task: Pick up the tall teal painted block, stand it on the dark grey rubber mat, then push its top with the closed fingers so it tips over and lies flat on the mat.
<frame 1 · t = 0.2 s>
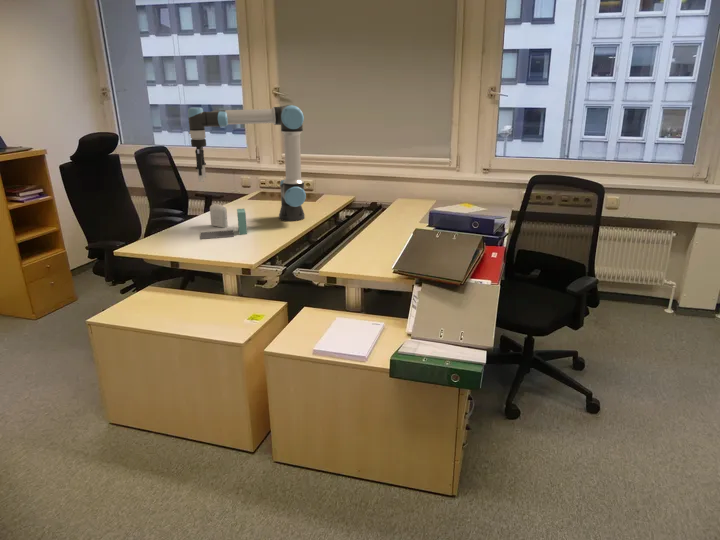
hand: (202, 179, 282), 27 cm above the table, tool pointing down, fingers open, 13 cm apart
mat: (217, 234, 280), on the table
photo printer: (219, 226, 298), on the table
block: (242, 232, 285), on the table
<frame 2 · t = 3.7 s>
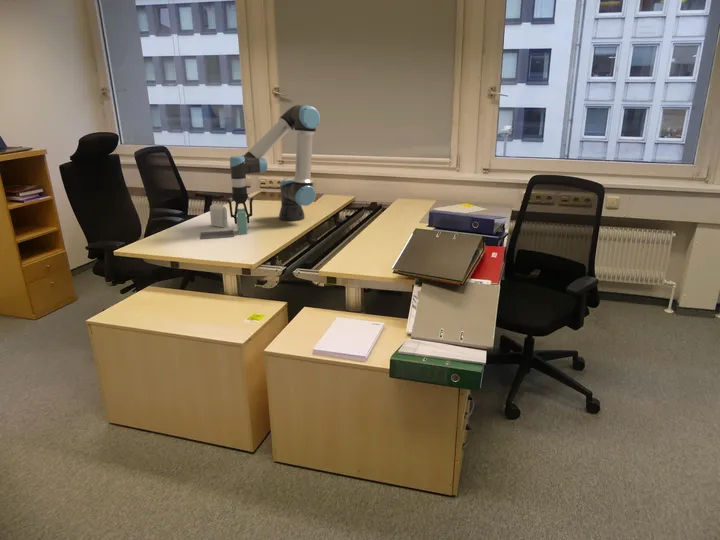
hand: (242, 229, 284), 2 cm above the table, tool pointing down, fingers closed on block, 4 cm apart
block: (242, 232, 285), on the table, touching gripper
everything else where it was.
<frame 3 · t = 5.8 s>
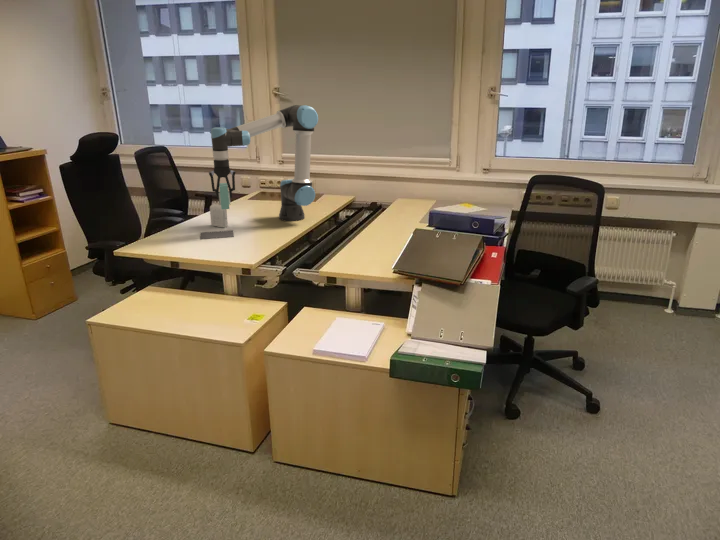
hand: (225, 204, 276), 16 cm above the table, tool pointing down, fingers closed on block, 4 cm apart
block: (225, 207, 276), point 15 cm above the table, touching gripper
everything else where it was.
when the fingers open (3 cm above the table, at t = 8.4 s): block stays where it is, resting on mat.
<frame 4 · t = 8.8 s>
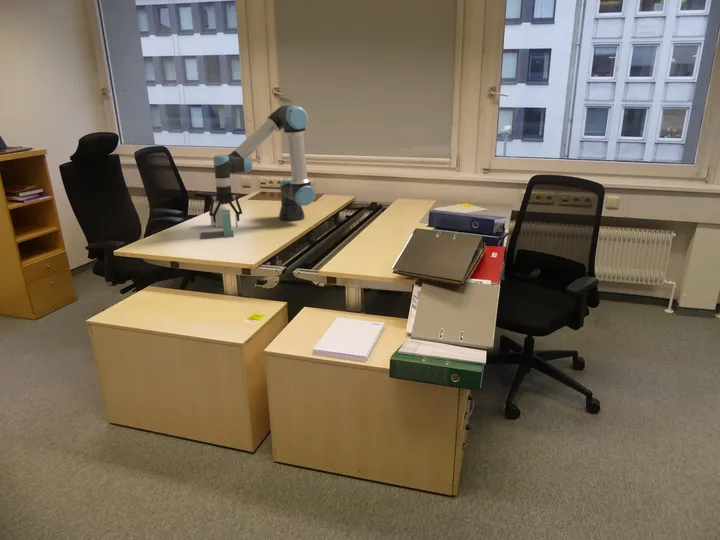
hand: (227, 227, 280), 4 cm above the table, tool pointing down, fingers open, 9 cm apart
block: (227, 233, 281), resting on mat
everything else where it was.
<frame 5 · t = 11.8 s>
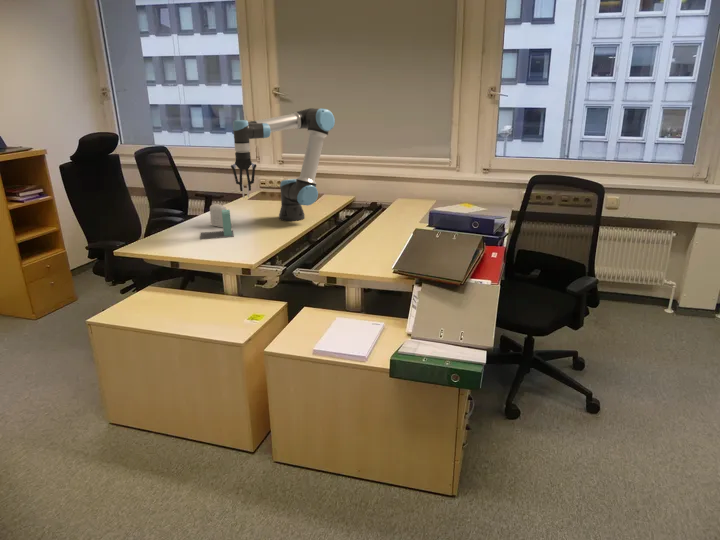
hand: (246, 197, 277), 19 cm above the table, tool pointing down, fingers closed
nothing on the table moved.
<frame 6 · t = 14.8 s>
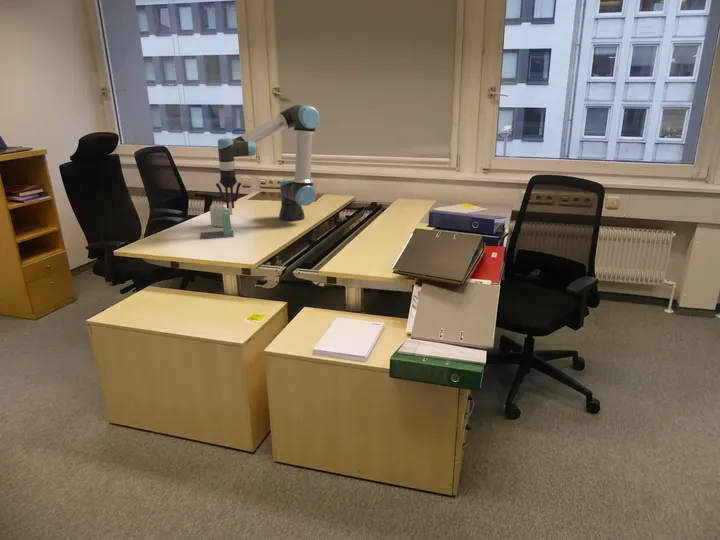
hand: (231, 214, 278), 11 cm above the table, tool pointing down, fingers closed
block: (227, 233, 281), resting on mat, touching gripper
everything else where it was.
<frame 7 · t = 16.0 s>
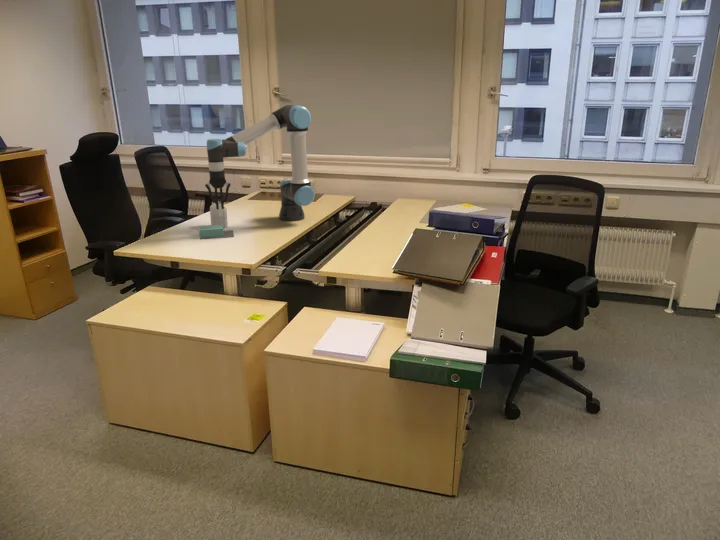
hand: (220, 215, 277), 10 cm above the table, tool pointing down, fingers closed
block: (223, 230, 280), point 2 cm above the table, tilted 90°, touching mat
everything else where it was.
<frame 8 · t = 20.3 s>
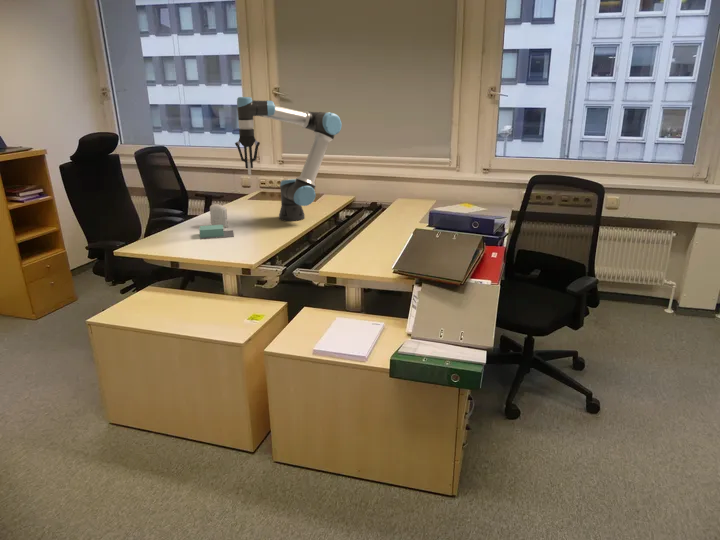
hand: (249, 174, 279), 30 cm above the table, tool pointing down, fingers closed
nothing on the table moved.
at the end: block tilted 90°; block inside the target area on the mat (5.0 cm from its centre), point 2.3 cm above the mat's base; the gripper is holding nothing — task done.
